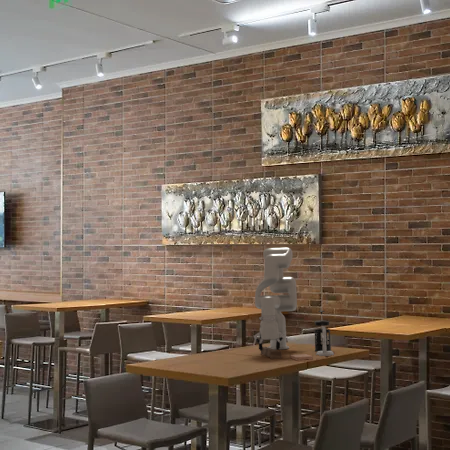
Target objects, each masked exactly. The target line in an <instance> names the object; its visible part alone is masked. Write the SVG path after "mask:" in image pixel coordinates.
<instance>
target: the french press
mask: <svg viewBox="0 0 450 450" xmlns="http://www.w3.org/2000/svg"><path fill="white" fill-rule="evenodd" d="M317 312H318V313H320V315H321V318H323V312H326V311H325V310H318V311H317ZM313 323H314V326H316V327H319V326H321V329H320V328H317V329H314V344H315V345H314V352H316V351H317V352H318V351H323V340H322V337H323V327H326V326H330V323H331V320H324V319H321V320H315V321H314V322H313ZM331 344H332V343H331V329H328V328H326V347H327V351H332V347H331ZM317 352H316V353H317Z"/></svg>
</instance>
